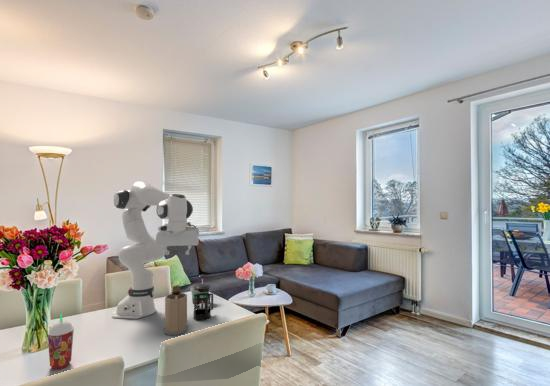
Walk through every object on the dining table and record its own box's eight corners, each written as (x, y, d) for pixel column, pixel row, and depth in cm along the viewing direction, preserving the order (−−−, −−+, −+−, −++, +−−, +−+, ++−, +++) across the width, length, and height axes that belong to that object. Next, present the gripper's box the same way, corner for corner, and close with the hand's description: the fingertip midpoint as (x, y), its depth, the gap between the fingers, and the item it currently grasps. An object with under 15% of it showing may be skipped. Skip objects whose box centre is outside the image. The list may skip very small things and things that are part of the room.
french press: (197, 322, 159) (197, 278, 160) (188, 317, 166) (189, 275, 167) (216, 316, 167) (217, 274, 168) (208, 312, 174) (208, 271, 175)
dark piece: (187, 305, 185) (187, 288, 186) (190, 302, 192) (190, 285, 192) (207, 305, 185) (207, 289, 185) (210, 302, 191) (210, 286, 191)
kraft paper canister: (161, 336, 144) (161, 300, 144) (168, 324, 157) (168, 291, 157) (185, 335, 145) (185, 299, 145) (190, 323, 158) (190, 290, 158)
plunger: (166, 323, 146) (166, 288, 146) (170, 316, 153) (170, 284, 153) (182, 322, 147) (182, 288, 147) (185, 316, 154) (185, 283, 154)
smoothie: (75, 358, 124) (75, 308, 125) (71, 368, 117) (71, 316, 117) (50, 362, 121) (51, 311, 121) (44, 373, 113) (45, 319, 114)
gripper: (199, 226, 156) (199, 253, 156) (158, 226, 154) (158, 253, 154) (198, 227, 150) (197, 255, 149) (154, 227, 147) (154, 256, 147)
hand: (177, 254), depth 151 cm, fingers open, 8 cm apart
